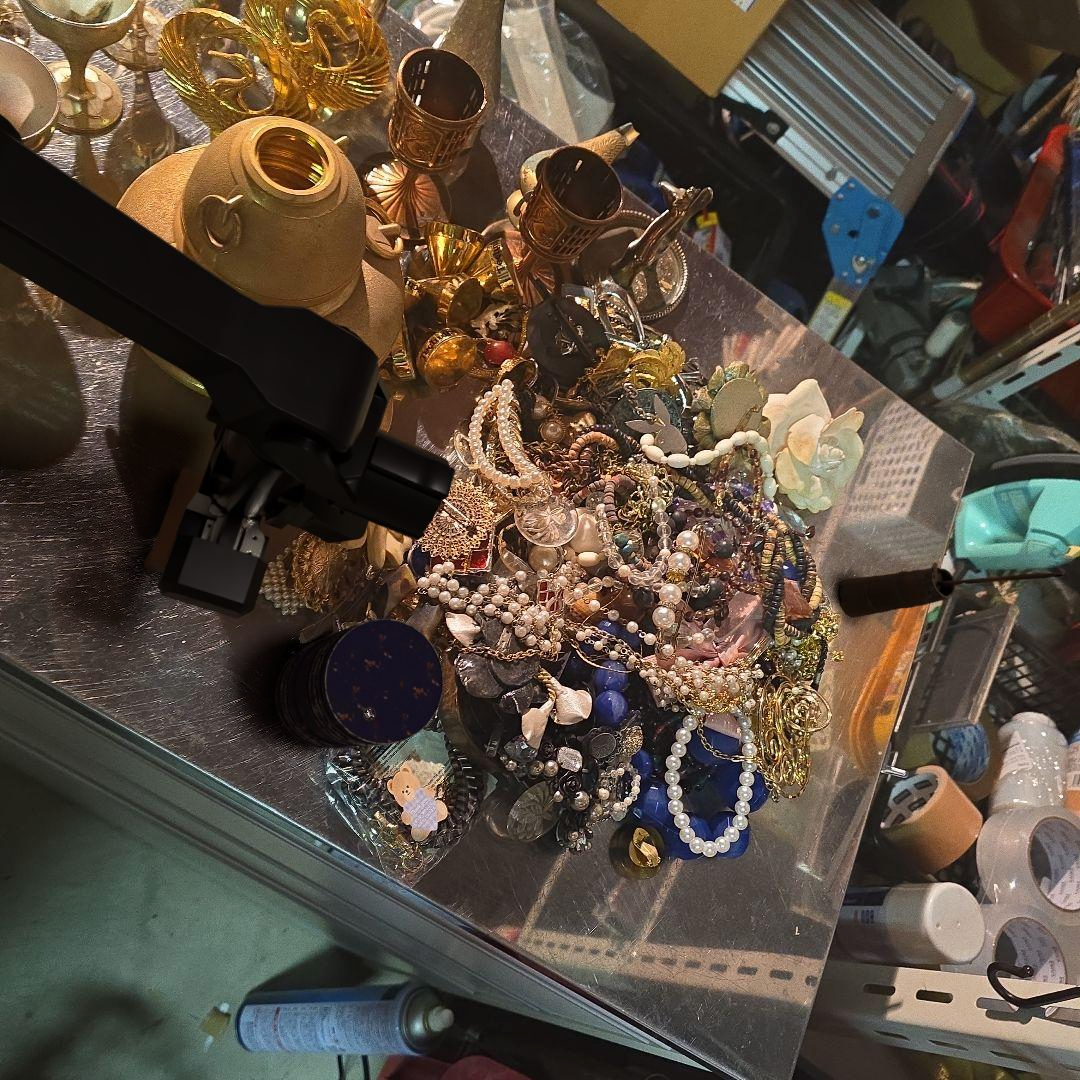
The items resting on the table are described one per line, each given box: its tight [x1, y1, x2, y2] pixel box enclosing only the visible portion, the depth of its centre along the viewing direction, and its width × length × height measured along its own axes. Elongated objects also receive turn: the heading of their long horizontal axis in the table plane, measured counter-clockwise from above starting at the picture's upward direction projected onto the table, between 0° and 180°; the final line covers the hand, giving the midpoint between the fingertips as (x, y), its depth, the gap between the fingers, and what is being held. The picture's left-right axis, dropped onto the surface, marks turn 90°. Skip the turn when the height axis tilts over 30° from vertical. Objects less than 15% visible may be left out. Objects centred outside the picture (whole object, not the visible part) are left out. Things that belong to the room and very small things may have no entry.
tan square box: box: [143, 467, 246, 574], centre depth 77 cm, size 7×8×5 cm
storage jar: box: [275, 618, 445, 750], centre depth 75 cm, size 10×10×15 cm
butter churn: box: [839, 562, 1065, 618], centre depth 107 cm, size 9×10×28 cm
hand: (221, 509), depth 70 cm, fingers closed on planter, 4 cm apart
